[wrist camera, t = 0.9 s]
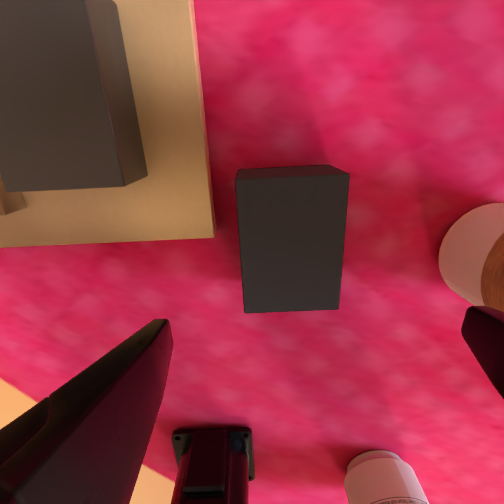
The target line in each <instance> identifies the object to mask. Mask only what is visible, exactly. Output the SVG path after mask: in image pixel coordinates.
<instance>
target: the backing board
mask: <svg viewBox="0 0 504 504" xmlns="http://www.w3.org/2000/svg"><path fill="white" fill-rule="evenodd" d="M215 233H216V221H215V211H214V201H213V191H212V181H211V171H210V161H209V151H208V141H207V131H206V121H205V112H204V102H203V92H202V82H201V72H200V62H199V52H198V42H197V32H196V22H195V13H194V3H193V0H0V248H5V247H26V246H48V245H69V244H91V243H112V242H134V241H155V240H177V239H198V238H214V236H215Z"/></svg>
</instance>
